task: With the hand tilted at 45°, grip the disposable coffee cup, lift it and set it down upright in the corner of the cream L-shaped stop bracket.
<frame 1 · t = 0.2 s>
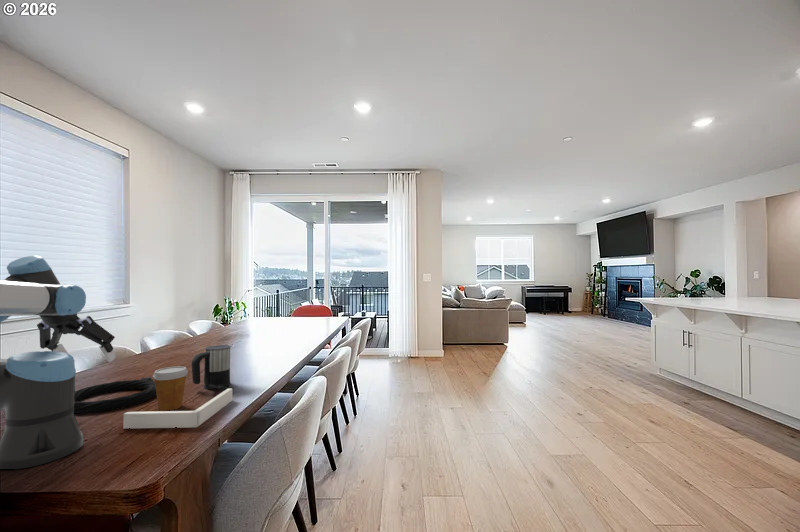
hand: (90, 360, 115), 15 cm above the table, tool tilted 35°, fingers open, 13 cm apart
disposable coffee cup: (170, 408, 116), on the table
stop bracket: (184, 416, 108), on the table
cable lock: (115, 400, 126), on the table
milk frother: (219, 388, 136), on the table
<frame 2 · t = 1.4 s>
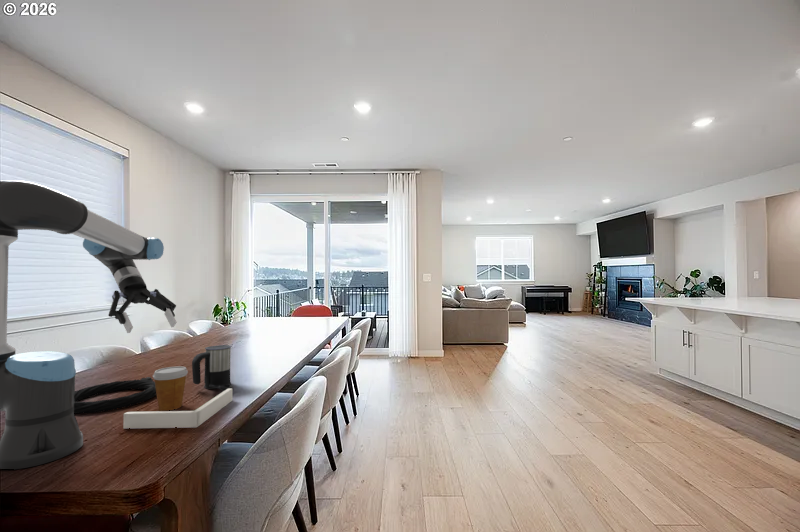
hand: (153, 327, 122), 25 cm above the table, tool tilted 45°, fingers open, 13 cm apart
nothing on the table moved.
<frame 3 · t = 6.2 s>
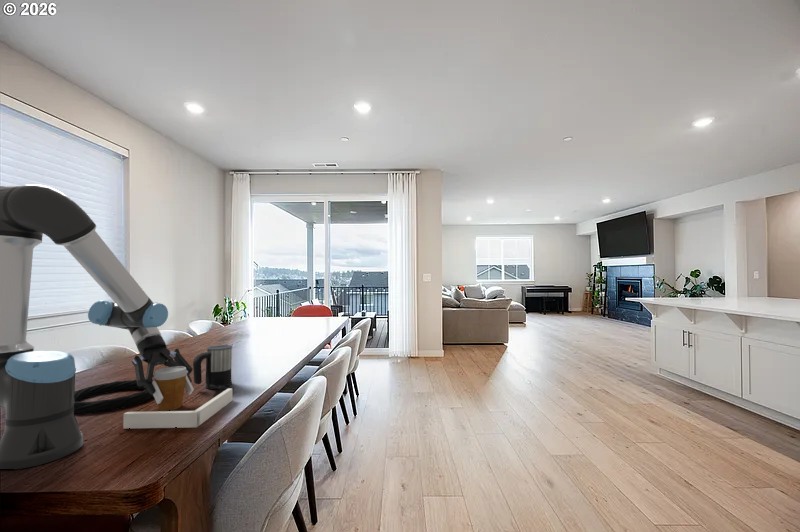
hand: (176, 396, 115), 4 cm above the table, tool tilted 45°, fingers closed on disposable coffee cup, 9 cm apart
disposable coffee cup: (170, 408, 116), on the table, touching gripper
everything else where it was.
when the fingers open (5 cm above the table, at t = 11.5 s): disposable coffee cup drops 1 cm, on the table.
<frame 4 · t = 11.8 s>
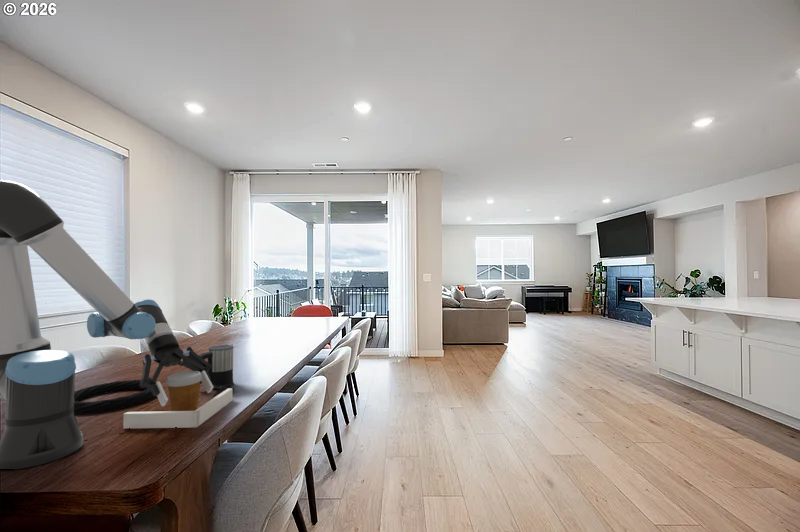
hand: (189, 396, 107), 6 cm above the table, tool tilted 45°, fingers open, 13 cm apart
disposable coffee cup: (184, 415, 110), on the table
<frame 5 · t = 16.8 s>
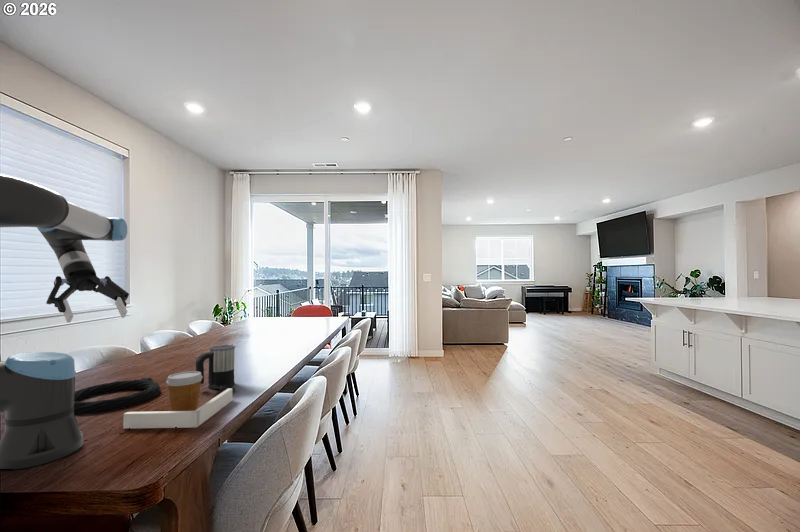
hand: (98, 316, 111), 30 cm above the table, tool tilted 45°, fingers open, 13 cm apart
at the end: disposable coffee cup 1.5 cm from the stop bracket (horizontally); disposable coffee cup tilted 0°; the gripper is holding nothing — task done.
